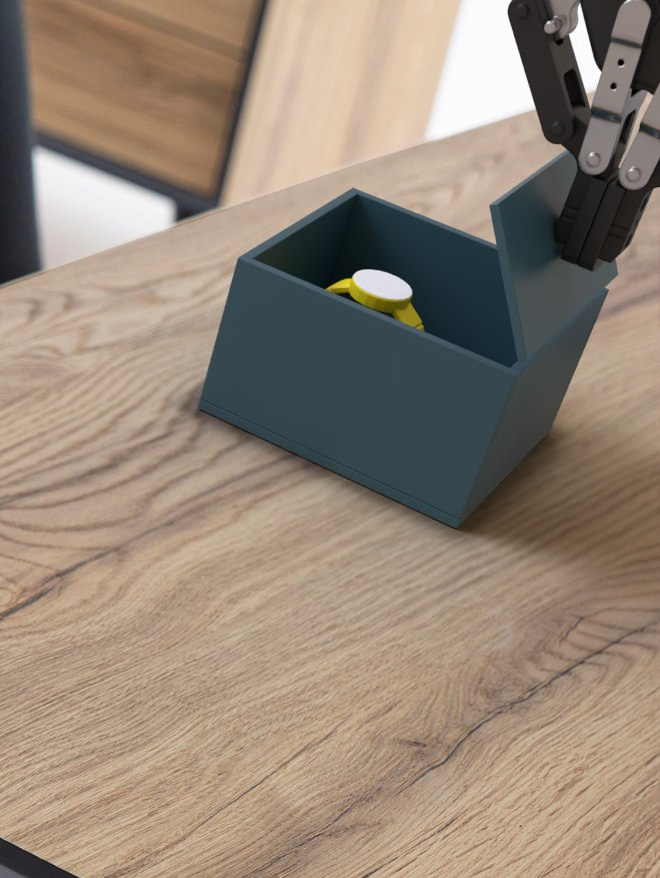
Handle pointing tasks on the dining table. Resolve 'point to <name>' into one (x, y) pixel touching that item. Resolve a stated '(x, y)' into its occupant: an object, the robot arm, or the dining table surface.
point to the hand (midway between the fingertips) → (582, 260)
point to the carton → (388, 357)
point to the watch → (381, 294)
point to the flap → (541, 257)
